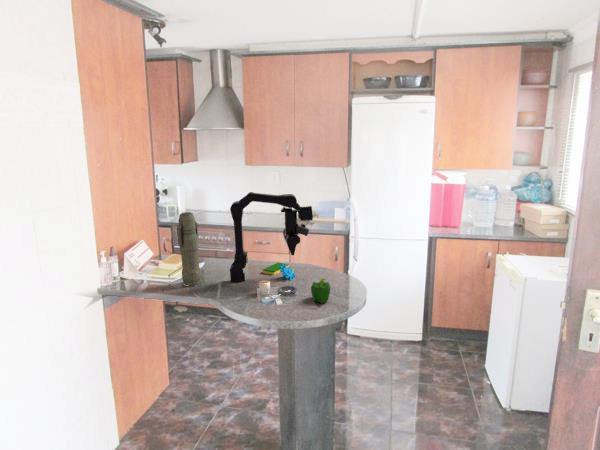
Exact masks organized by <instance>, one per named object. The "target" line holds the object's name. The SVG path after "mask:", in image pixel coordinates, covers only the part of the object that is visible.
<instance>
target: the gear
mask: <svg viewBox="0 0 600 450" xmlns="http://www.w3.org/2000/svg"><path fill="white" fill-rule="evenodd" d="M286 267H287V265H283V264H282V265H281V266H280V269H281V270H280V272H279V273H281V275H282V277H281V278H282V279H283V278H285V279H286V280H288V281H293V280H294V279H295V278H296V276H297V275H296V273H294V272H295V270H294V268H292V269H291V267H290V266H289V267H288V268H286Z"/></svg>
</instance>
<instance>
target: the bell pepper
mask: <svg viewBox="0 0 600 450" xmlns="http://www.w3.org/2000/svg"><path fill="white" fill-rule="evenodd" d="M326 279H327V278H326V277H322V278H321V279H320V281H318V282H316V281H315V282H312V284H311V287H310V291H311V295H312V299H313V300H314V302H315V303H319V304H325V303H327V302H328V300H329V299H330V294H331V285H330V282H326V281H325V280H326Z"/></svg>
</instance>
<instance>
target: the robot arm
mask: <svg viewBox="0 0 600 450" xmlns="http://www.w3.org/2000/svg"><path fill="white" fill-rule="evenodd" d="M252 202H256V203H264V204H265V203H268V204H277V205H279V206H282V208H281V209H280V213H284V228H283V230H282V235H283V238H284V241H285V243H286V245H287V248H288V250H289V252H290V254H291V256H295V252H296V247H297V245H299V244H300V243H301V237H300V235H303V236H305V237H308V235H309V231H310V229H309V228H308V227H306V224H305V223H304V224H303V223H301V224H300V225H299V223H298V219H299V220H300V222H305V221H309V222H310V221H313V219H314V214H313V207H312V205H309V206H308V205H307V206H301V205H300V204H299V203H298V201H297V197H296V196H295V195H294V194H292V193H288V194H287V193H285V194H279V195H278V194H267V193H258V192H252V191H250V192H248V193H247V194H246V195H245V196H242V198H241V199H240V200H236V201H234V202H232V204H231V206H230V210H229V211H230V214H231V217H232V220H233V221H232V222H233V229H234V232H233V233H234V243H235V244H234V249H235V253H234V257H233V258H234V259H233V260H234V261H233V262H232V263H231V265H230V268H229V275H230V277H229V279H230V283H233V284H240V283H244V282H246V273H245V272H244V269H245V268H246V266H247V264H248V262H249V258H248V251H245V249H244V248H245V247H244V234H243V216H244V209H245V208H247V207H248V205H250V204H251V203H252ZM299 234H300V235H299Z"/></svg>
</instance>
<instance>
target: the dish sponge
mask: <svg viewBox="0 0 600 450" xmlns="http://www.w3.org/2000/svg"><path fill="white" fill-rule="evenodd" d="M282 264H283V265H287V267H286V268H288V267H290V265H289V263H282V262H276V263H274V264H272V265H270V266H267V267H265V268H263V269H262V273H263V274H265V275H272V276H275V275H277V274H279V273H281V272H280V270H281V269H280V266H281V265H282Z"/></svg>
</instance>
